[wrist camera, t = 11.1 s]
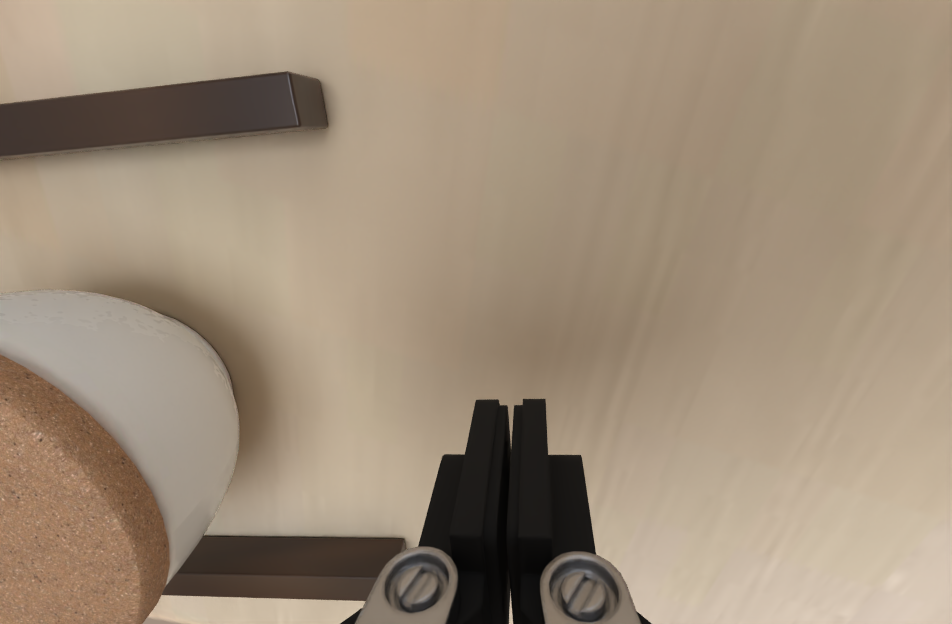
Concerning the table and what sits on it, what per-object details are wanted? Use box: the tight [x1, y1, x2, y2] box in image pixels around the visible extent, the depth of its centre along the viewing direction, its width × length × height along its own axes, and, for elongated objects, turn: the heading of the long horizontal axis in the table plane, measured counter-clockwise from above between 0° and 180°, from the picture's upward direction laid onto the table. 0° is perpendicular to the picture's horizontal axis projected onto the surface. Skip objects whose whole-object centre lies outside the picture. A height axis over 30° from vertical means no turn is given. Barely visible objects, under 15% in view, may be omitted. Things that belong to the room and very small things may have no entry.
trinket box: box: [0, 289, 239, 624], centre depth 14 cm, size 11×11×9 cm
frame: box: [0, 71, 406, 601], centre depth 18 cm, size 16×20×2 cm
